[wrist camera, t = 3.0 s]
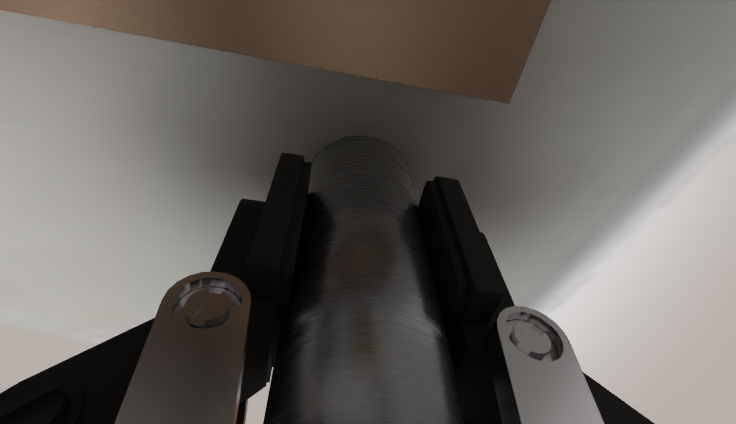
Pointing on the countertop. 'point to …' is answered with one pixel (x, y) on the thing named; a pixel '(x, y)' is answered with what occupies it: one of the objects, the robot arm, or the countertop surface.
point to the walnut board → (338, 34)
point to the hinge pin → (362, 302)
